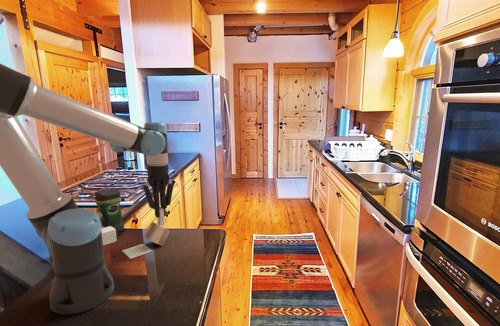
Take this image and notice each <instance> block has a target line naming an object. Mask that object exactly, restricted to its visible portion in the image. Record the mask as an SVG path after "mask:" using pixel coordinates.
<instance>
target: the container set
mask: <svg viewBox="0 0 500 326" xmlns="http://www.w3.org/2000/svg"><path fill="white" fill-rule="evenodd" d="M101 231H102V241H103V246H107V245H109V244H112V243H116V242H117V232H116V230H115V229H114V228H113V227H111V226H109V227H105V228H102V229H101Z"/></svg>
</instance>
